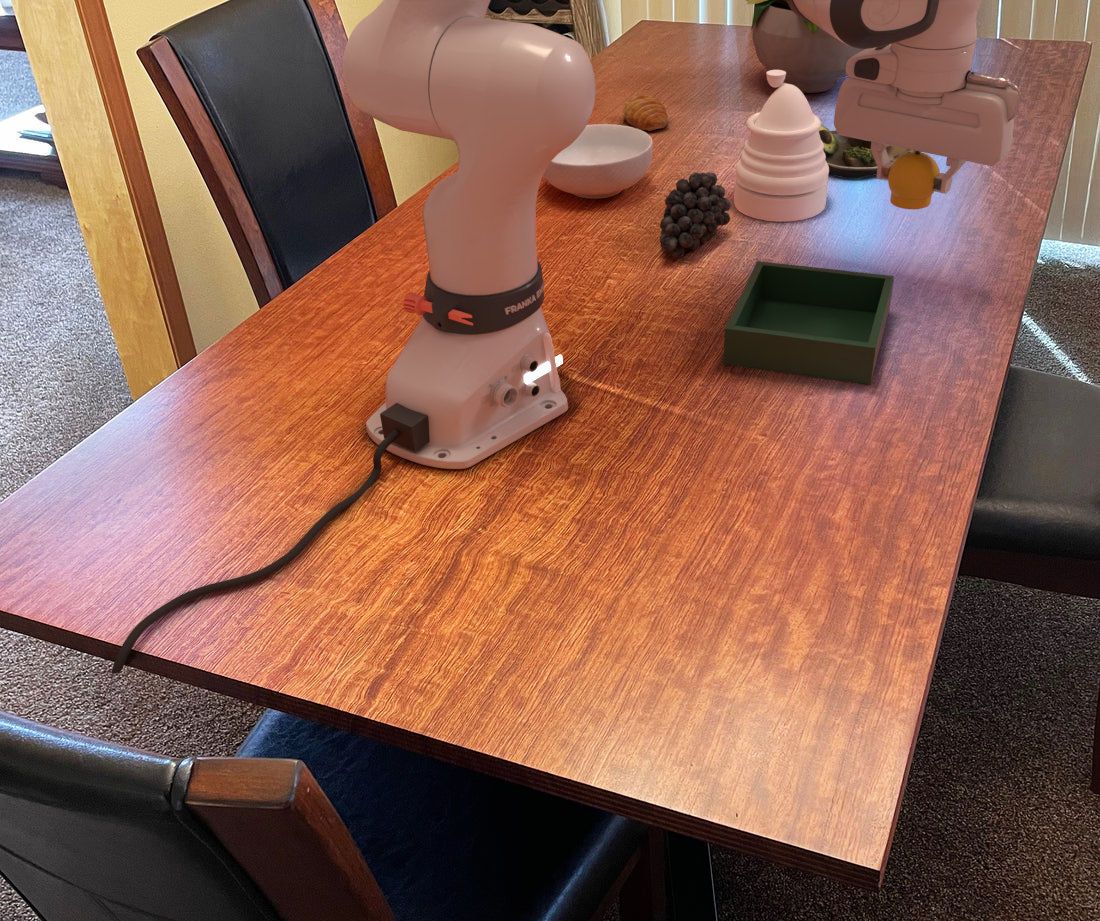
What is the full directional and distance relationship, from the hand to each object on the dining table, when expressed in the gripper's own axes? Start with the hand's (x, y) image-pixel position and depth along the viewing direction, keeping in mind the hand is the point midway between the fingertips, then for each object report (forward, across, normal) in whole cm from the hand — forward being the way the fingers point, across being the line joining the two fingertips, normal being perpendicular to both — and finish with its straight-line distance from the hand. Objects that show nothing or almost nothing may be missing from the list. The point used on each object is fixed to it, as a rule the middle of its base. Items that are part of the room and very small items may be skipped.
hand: (912, 184), depth 131 cm
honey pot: (+12, +24, -12) cm, 29 cm away
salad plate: (+12, +24, -33) cm, 42 cm away
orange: (+2, 0, 0) cm, 2 cm away
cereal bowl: (+12, +49, -2) cm, 51 cm away
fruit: (+12, +27, +6) cm, 31 cm away
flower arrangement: (+13, +46, -59) cm, 76 cm away
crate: (+12, +1, +20) cm, 24 cm away
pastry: (+12, +59, -29) cm, 67 cm away
